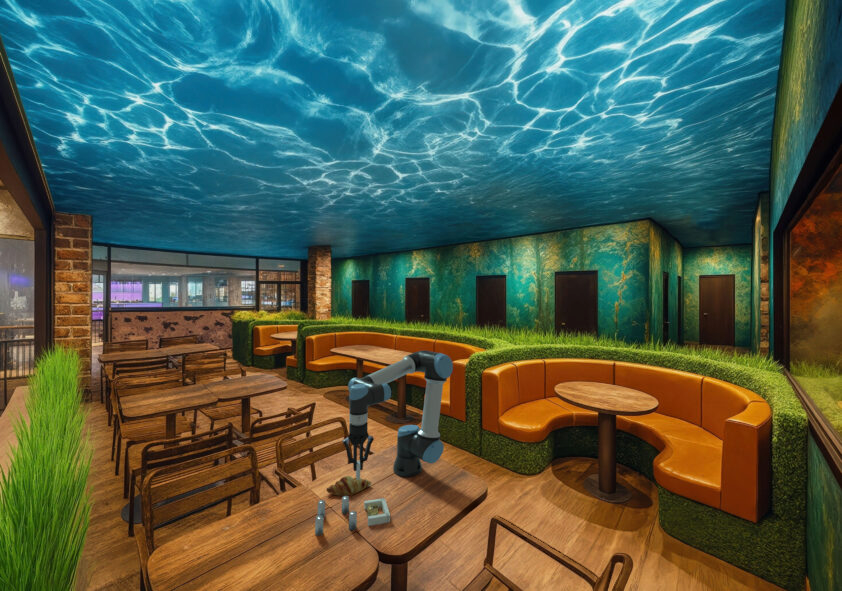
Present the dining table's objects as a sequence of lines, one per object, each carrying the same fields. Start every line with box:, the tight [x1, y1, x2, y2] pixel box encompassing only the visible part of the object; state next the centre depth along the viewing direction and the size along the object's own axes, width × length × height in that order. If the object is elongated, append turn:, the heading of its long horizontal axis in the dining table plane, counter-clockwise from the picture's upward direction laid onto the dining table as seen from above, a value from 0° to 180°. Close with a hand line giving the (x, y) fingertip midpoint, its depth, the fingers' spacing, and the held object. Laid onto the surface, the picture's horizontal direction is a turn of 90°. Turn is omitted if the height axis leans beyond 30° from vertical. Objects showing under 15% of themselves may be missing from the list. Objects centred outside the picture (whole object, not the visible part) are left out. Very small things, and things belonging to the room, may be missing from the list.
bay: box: [363, 497, 391, 527], centre depth 148 cm, size 12×9×3 cm
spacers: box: [314, 495, 358, 537], centre depth 143 cm, size 14×16×6 cm
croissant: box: [326, 475, 372, 497], centre depth 165 cm, size 21×10×8 cm, turn 114°
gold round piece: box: [366, 504, 379, 518], centre depth 147 cm, size 5×5×4 cm
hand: (358, 477), depth 145 cm, fingers closed
